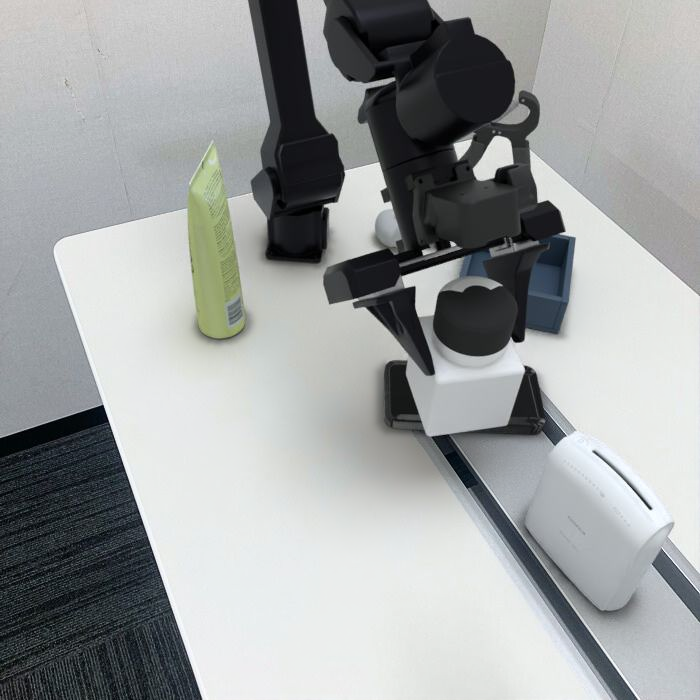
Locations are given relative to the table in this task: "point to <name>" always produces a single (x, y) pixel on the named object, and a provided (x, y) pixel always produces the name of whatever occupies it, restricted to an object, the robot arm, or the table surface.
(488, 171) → the table surface
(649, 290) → the table surface
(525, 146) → the hand grip strengthener
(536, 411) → the phone
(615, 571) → the photo printer
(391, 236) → the pale two-lobed sculpture
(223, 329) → the tube
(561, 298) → the bin
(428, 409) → the medicine bottle
